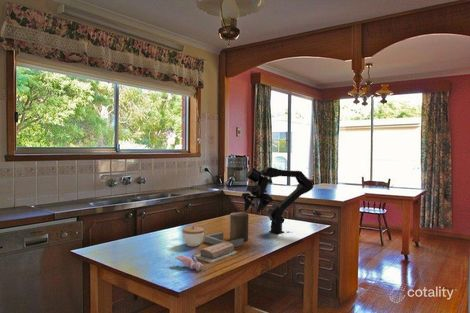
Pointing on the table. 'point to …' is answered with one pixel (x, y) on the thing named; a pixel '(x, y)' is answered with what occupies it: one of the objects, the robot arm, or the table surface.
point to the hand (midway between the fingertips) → (251, 211)
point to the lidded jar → (193, 235)
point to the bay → (216, 238)
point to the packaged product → (216, 252)
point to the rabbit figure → (191, 262)
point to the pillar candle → (239, 226)
